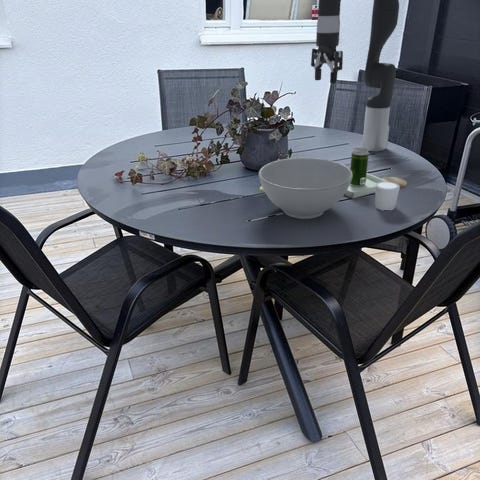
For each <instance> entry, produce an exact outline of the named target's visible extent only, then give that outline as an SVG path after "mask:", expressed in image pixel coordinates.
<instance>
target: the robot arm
mask: <svg viewBox="0 0 480 480" xmlns="http://www.w3.org/2000/svg"><path fill="white" fill-rule="evenodd" d="M341 2H342V0H318V9H317V10H318V13H317V14H318V15H317V21H316V38H315V40H316V42H315V46H316V47H314V48H312V49H311V59H310V60H311V61H310V62H311V63H310V67H313V68H314V81H321V80H322V67H323V65H324V64H325V65H327V66H328V67H329V69H330V78H329V82H330V84H337V81H338V72H339V71H342V70H343V63H344V62H343V60H344V58H343V57H344V55H343V54H344V52H343V50H337V47H338V46H339V43H340V32H341V31H340V29H341V20H340V19H341V18H340V16H341ZM399 10H400V1H399V0H373V5H372V12H371V23H370V24H371V26H370V37H369V45H368V51H367V56H366V57H367V58H366V62H365V69H364V74H363V75H364V76H363V77H364V78H363V79H364V84H365V86H366V87H367V88H372V89H380V90H379V93H378V94H377V95H374V96H373V95H372V96H369V97H368V98H367V99H366V103H365V112H364V113H365V114H364V124H363V135H362V146H361V148H366V149H368V152H382V151H385V150H386V149H388V142H389V134H390V124H389V120H390V119H389V118H390V112H391V111H390V110H391V104H392V99H393V94H394V88H395V83H396V77H397V76H396V75H397V68H396V65H395V64H394V63H391V62H389V63H388V62H380V57H381V54H382V50H383V49H384V48H383V47H384V46H385V44H386V43H387V41H388V40H389V39H390V37H391V36H392V34H393V33H394V32H395V29H396V27H397V25H398V21H399V15H400V14H399V12H400V11H399Z"/></svg>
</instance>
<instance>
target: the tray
mask: <svg viewBox="0 0 480 480" xmlns="http://www.w3.org/2000/svg"><path fill="white" fill-rule="evenodd" d="M383 181H386V180H383V179H382V178H380V177H378V176H376V175H374V174H371V173H368V172H367V175H366V184H365V185H364V186H363V187H352V186H351V185H349V187H348V189H347V191H346V193H345V194H344V195H345V196H346V197H348V198H351V199H352V200H353V199H357V198H361V197H364V196H367V195H370V194H375V192H376V183H378V182H383ZM344 195H343V196H344Z"/></svg>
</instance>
